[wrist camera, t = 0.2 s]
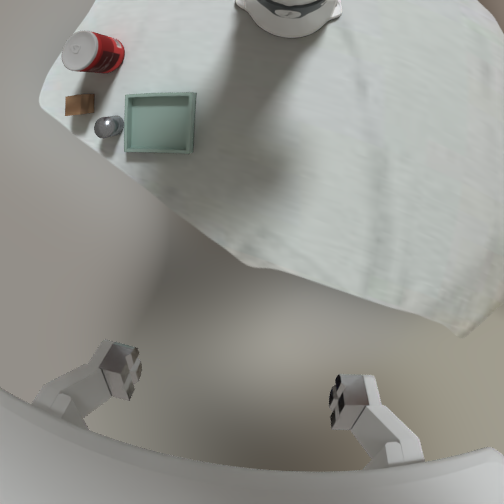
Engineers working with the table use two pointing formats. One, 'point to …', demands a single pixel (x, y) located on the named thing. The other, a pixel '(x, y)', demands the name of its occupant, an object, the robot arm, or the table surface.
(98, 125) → the metal peg
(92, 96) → the walnut block
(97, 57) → the canned food
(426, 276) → the table surface
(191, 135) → the tray
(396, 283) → the table surface
